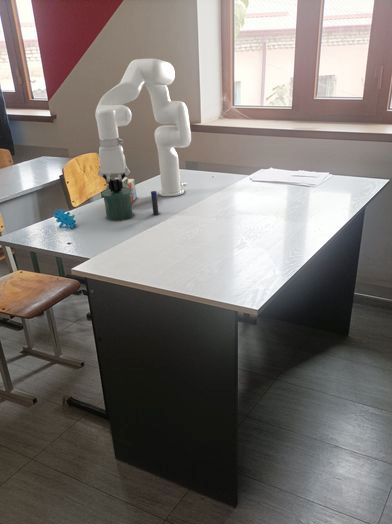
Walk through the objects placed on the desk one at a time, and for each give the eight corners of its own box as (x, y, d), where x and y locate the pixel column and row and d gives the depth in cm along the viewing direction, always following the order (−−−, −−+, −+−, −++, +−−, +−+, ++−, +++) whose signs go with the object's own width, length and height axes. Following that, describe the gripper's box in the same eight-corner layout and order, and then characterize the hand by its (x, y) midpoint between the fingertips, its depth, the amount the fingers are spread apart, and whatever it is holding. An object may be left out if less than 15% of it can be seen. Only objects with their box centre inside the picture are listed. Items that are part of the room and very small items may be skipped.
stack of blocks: (125, 198, 253) (121, 172, 246) (137, 197, 252) (133, 172, 245) (110, 211, 235) (106, 184, 229) (123, 211, 234) (119, 184, 228)
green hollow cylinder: (122, 211, 234) (119, 185, 228) (138, 215, 227) (134, 189, 221) (101, 217, 228) (97, 191, 222) (117, 222, 220) (113, 195, 214)
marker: (156, 212, 229) (154, 190, 223) (159, 213, 227) (157, 191, 222) (152, 214, 227) (149, 191, 222) (155, 215, 226) (153, 192, 220)
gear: (65, 228, 212) (50, 209, 212) (58, 237, 215) (44, 218, 216) (82, 224, 220) (69, 206, 221) (76, 232, 224) (63, 214, 224)
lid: (120, 190, 216) (118, 174, 212) (138, 194, 208) (136, 178, 204) (95, 196, 209) (93, 180, 205) (113, 201, 201) (111, 184, 197)
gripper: (131, 140, 200) (137, 187, 210) (91, 142, 201) (98, 189, 211) (129, 143, 194) (135, 192, 204) (87, 146, 195) (95, 194, 204)
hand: (116, 190), depth 207 cm, fingers closed on lid, 2 cm apart
